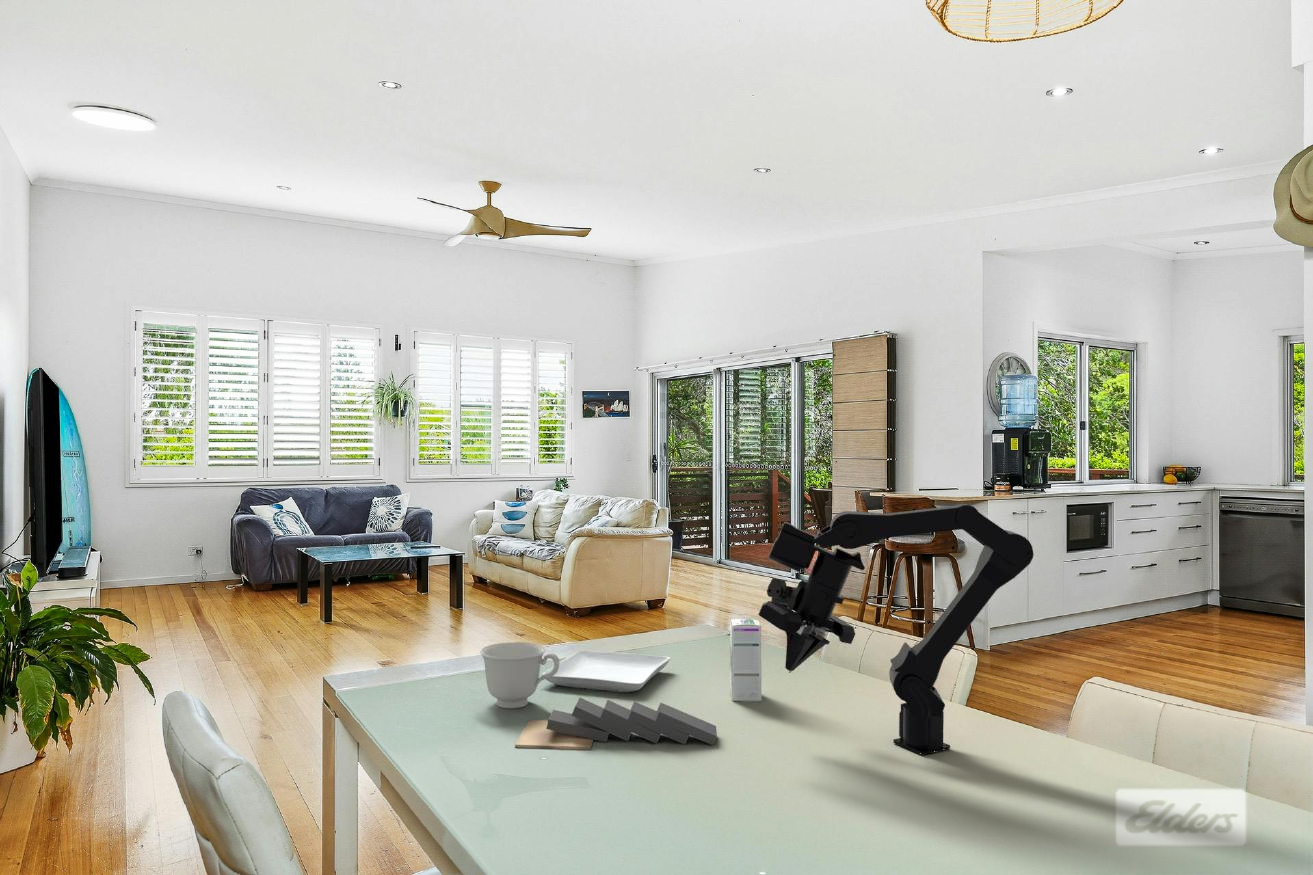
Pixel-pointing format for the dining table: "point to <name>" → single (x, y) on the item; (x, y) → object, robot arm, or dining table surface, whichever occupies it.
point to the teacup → (515, 671)
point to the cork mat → (550, 738)
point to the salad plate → (607, 670)
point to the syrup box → (745, 660)
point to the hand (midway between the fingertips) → (788, 669)
